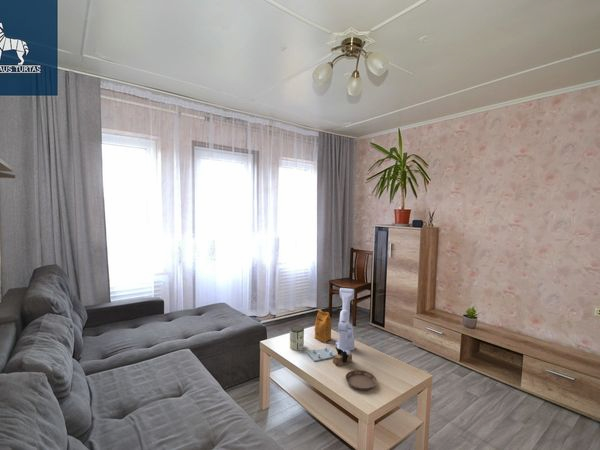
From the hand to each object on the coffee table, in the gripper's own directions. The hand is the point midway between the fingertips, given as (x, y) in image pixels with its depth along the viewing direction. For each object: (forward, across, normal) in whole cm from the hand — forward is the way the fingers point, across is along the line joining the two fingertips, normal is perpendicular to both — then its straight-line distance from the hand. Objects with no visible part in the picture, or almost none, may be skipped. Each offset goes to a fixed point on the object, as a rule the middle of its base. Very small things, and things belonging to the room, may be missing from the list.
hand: (342, 360), depth 183 cm
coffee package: (+2, -35, +4) cm, 35 cm away
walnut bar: (+2, 0, 0) cm, 2 cm away
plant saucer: (+2, +23, -2) cm, 23 cm away
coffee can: (+2, -30, -20) cm, 36 cm away
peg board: (+1, -13, -8) cm, 15 cm away
